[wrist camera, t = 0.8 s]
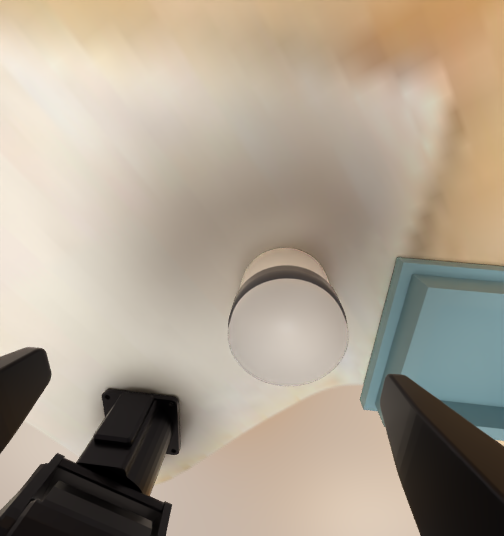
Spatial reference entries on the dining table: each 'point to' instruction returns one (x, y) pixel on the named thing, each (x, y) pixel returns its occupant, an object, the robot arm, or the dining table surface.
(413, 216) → the dining table surface
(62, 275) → the dining table surface
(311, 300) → the lens
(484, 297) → the square tray
